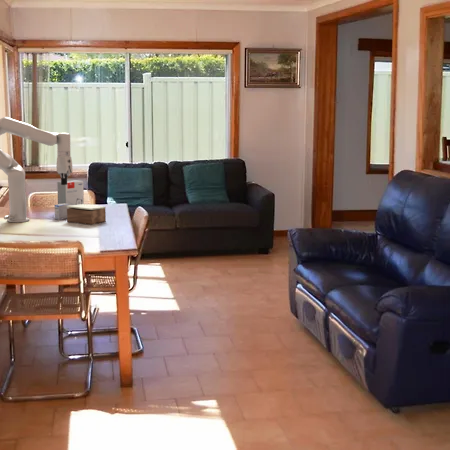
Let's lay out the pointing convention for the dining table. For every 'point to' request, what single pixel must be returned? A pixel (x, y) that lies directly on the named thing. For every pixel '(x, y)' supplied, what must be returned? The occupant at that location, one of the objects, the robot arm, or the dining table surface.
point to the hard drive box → (71, 193)
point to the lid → (85, 207)
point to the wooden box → (86, 216)
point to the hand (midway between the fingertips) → (64, 184)
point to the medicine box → (61, 211)
